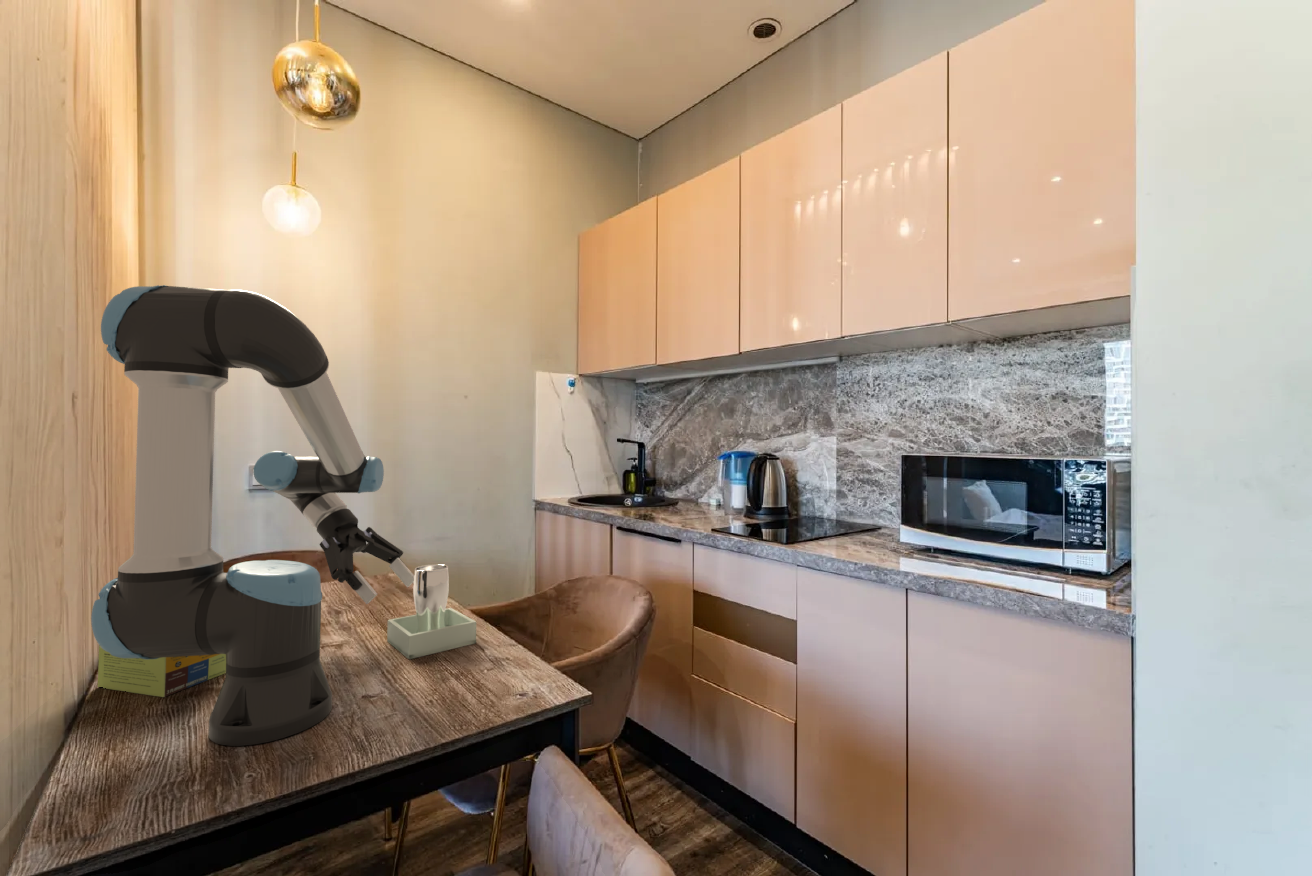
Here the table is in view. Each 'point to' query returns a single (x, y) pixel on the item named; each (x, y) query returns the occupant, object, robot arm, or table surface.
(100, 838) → the table surface
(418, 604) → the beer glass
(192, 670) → the protein box
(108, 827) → the table surface
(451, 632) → the bin
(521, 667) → the table surface
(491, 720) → the table surface
